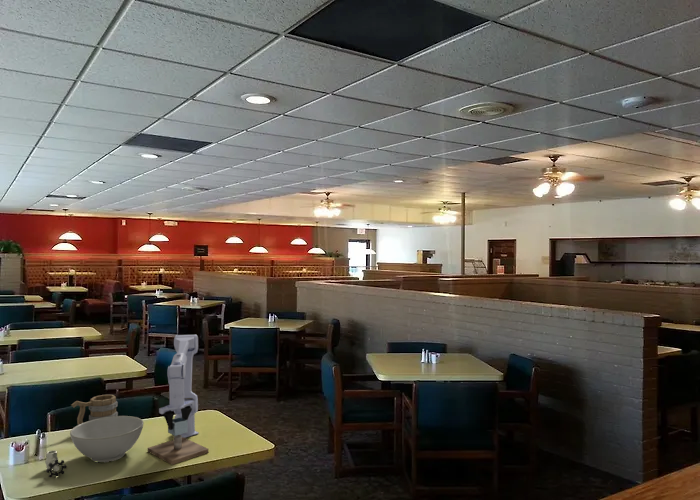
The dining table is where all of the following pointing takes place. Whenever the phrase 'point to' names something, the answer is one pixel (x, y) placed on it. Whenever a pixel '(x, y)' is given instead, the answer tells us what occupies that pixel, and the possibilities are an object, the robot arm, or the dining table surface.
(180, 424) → the collar
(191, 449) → the post board
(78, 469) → the dining table surface
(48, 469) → the valve
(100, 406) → the tankard
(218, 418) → the dining table surface
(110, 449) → the decorative bowl
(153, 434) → the dining table surface
